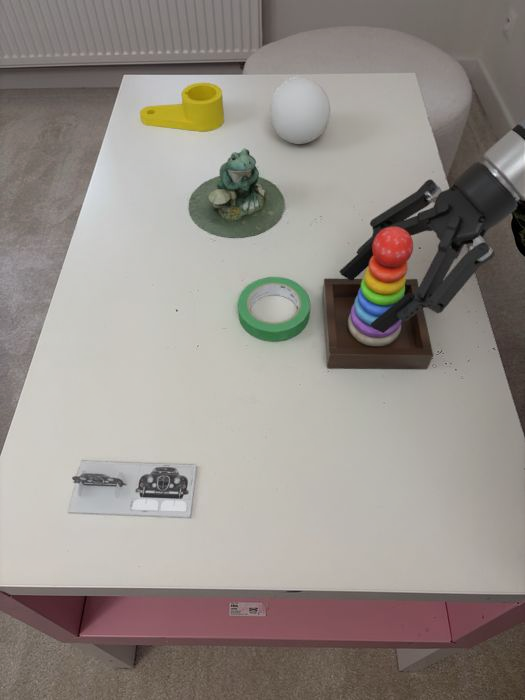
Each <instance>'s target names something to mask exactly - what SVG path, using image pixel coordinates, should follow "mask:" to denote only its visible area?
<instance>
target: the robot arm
mask: <svg viewBox="0 0 525 700" xmlns="http://www.w3.org/2000/svg"><path fill="white" fill-rule="evenodd" d="M482 159H483V160H482V162H480V161H477V162H475V161H474V163H473V164H471V165H470V166H469V167H468V168H467V169H466V170H464V172H462V173H461V174H460V175H459V176H457V178H455V180H454V183H453V185H452V186H451V187H450V188H448V189H445V190H442V189H441V187H440V186H439V185H438V184H437V183H436V182H435V181H434V180H433V179H427V180H426V181H425V182H424V183H423V184H422V185H421V186H420V187H419V188H418V189H417V191H415V192H413V193H412V194H410V195H409V196H407V197H405V198H404V199H402V200H401V201H399V202H397V203H396V204H394V205H393V206H391V207H390V208H388V209H386V210H385V211H383V212H382V213H380V214H379V215H377V216H375V217H373V218H372V219H371V220H370V223H369V225H370V227H371V228H372V235H371V237H369V238H368V239H367V240H366V241H365V242H364V243H363V244H362V245H361V246H360V247H359V248H358V249H357V250H356V254H357V255H355V256H354V257H353V258H352V259H351V260H350V261H349V262H348V263H346V264H345V265H344V266H343V267H342V268H341V269H340V270H339V273H340V275H341V276H343V277H344V278H345V279H349V280H351V281H352V280H353V279H357V277H358V276H359V275H360V274H362V273H363V272H364V271H366V269H367V268H368V267H369V261H370V259H371V257H372V256H373V251H372V245H373V241H374V238H375V237H376V235H377V234H378V233H379V232H380V231H381V230H383V229H385V228H388V227H400V228H402V229H404V230H406V231H407V232H408V233H409V234H410V235H411V237H412V236H415V235H418V234H422V233H424V232H434V233H435V235H436V238H437V239H438V240H439V243H438V245H437V251H436V254H435V255H434V257H433V259H432V261H431V263H430V265H429V267H428V269H427V271H426V273H425V274H424V277H423V278H422V280H421V283H420V284H419V285H418V286H419V288H418V290H417V292H416V294H413V293H412V294H411V293H410V292H409V293H407V294H406V295H405V296H404V297H403V298H401V299H400V300H399V301H398V302H396V303H395V304H394V305H393V306H392V307H390V308H389V309H388V310H387V311H386V312H384V313H383V314H382V315H381V316H379V317H378V318H377V319H376V320H375V321H373V322H372V323H371V326H372V328H374V329H376V330H378V331H380V332H382V333H384V332H385V331H387V330H388V329H389V328H390V327H392V326H393V325H394V324H395V323H397V322H398V321H399V320H402V321H407V320H409V319H410V318H411V317H413V316H414V315H415V314H416V313H418V312H419V311H420V310H421V309H425V308H428V309H429V310H431V311H432V312H433V313H436V314H441V313H442V312H443V311H444V310H445V309H446V308H447V306H448V305H449V304H450V303H451V301H452V300H453V299H454V298H455V297H456V296H457V294H458V293H459V292H460V291H461V289H463V287H464V286H465V285H466V284H467V282H468V281H469V280H470V278H472V276H474V274H475V273H476V271H478V269H479V268H480V267H481V266H483V265H484V264H486V263H487V262H489V261H491V260H492V259H493V258H494V257H495V255H496V251H495V250H494V249H493V248H492V247H491V246H489V244H488V243H487V241H486V240H485V239H484V237H485V235H486V233H487V232H488V230H489V229H491V228H493V227H495V226H498V225H499V224H500V223H501V222H502V221H504V220H505V219H507V217H508V216H510V215H511V214H512V213H513V212H515V211H516V210H517V209H518V206H519V204H518V202H519V200H521V201H523V202H525V117H523V118H522V119H521V120H519V122H518V123H517V124H516V125H515V126H514V127H513V128H511V130H509V131H508V132H507V133H505V134H504V135H503V136H502V137H501V138H500V139H498V140H497V141H496V142H495V143H494V144H493V145H492V146H491V147H489V148H488V150H486V151H485V152H484V153H483V154H482ZM432 203H433V207H431V208H429V209H425V208H427V207H428V206H430V204H432ZM423 209H425V210H423ZM415 214H417V215H415ZM414 215H415V216H414ZM470 244H471V245H470ZM466 245H470V246H469V247H468V251H467V252H466V253H465V254H464V255H463V256H462V257H461V259H460V260H459V261H458V262H457V263H456V265H454V267H453V268H452V269H451V267H452V265H453V263H454V261H455V260H457V259H458V257H459V256H460V254H461V252H462V250H463V248H464V247H465V246H466ZM450 269H451V271H450ZM449 271H450V272H449ZM448 272H449V273H448Z"/></svg>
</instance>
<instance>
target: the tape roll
mask: <svg viewBox="0 0 525 700" xmlns="http://www.w3.org/2000/svg"><path fill="white" fill-rule="evenodd" d="M267 296H281V297H284V298H286V299H288V300H290V301H291V302H292V303H293V304H294V305H295V306H296V308H297V311H296V312H295V313H294V315H292V316H290V317H289V318H287V319H285V320H281V321H275V322H273V321H272V322H271V321H266V320H263V319H260V318H258V317H257V316H256V315H255V314H254V313H253V311H252V310H251V309H252V307H253V305H254V304H255V303H256V302H257V301H259V300H260V299H262V298H265V297H267ZM310 311H311V300H310V296H309V294H308V292H307V291H306V290H305V289H304V288H303V286H302V285H300V284H299V283H298V282H296V281H295V280H292V279H289V278H286V277H281V276H267V277H262V278H258V279H257V280H254V281H251V282H250V283H249V284H248V285H246V286H245V288H243V290H241V292H240V294H239V297H238V300H237V313H238V319H239V323H240V326H242V328H243V329H244V331H245V332H247V333H248V334H249V335H250V336H252V337H254V338H256V339H258V340H261V341H266V342H282V341H287V340H290V339H292V338H294V337H296V336H297V335H299V334H300V333H302V332H303V331H304V329H305V328H306V326H307V325H308V322H309V320H310Z"/></svg>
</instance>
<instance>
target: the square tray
mask: <svg viewBox="0 0 525 700" xmlns="http://www.w3.org/2000/svg"><path fill="white" fill-rule="evenodd" d="M362 279H363V278H354V279H353V280H352V281H351V280H349V279H348V278H324V279H323V285H322V294H321V295H322V309H323V324H324V341H325V355H326V356H325V357H326V369H327V370H328V369H331V370H332V369H334V370H335V369H338V370H339V369H340V370H342V369H343V370H348V369H350V370H358V369H359V370H428V368H429V365H430V363H431V361H432V359H433V357H434V352H433V348H432V344H431V338H430V334H429V328H428V324H427V319H426V315H425V314H426V313H425V308H423V309H421V310H420V311H419V312H418V313H416V314H415V315H414V316H413V317H411V318H410V319H409V320H407V321H402V322H401V331H400V334H399V335H398V337H397V338H396V339H395V340H394V341H393V342H392V343H390V344H388V345H385V346H379V347H374V346H368V345H365V344H363V343H361V342H359V341H358V340H357V339H355V338H354V337H353V336H352V334H351V333H350V331H349V328H348V317H349V315H350V313H351V309H352V306H353V305H354V303H355V299H356V297H357V295H358V291H359V289H360V287H361V282H362ZM419 286H420V285H419V281H418V279H417V278H406V282H405V292H404V296H405V295H406V294H407V293H409V292H410V293H411V294H412V293H413V294H416V292H417V290H418V288H419Z"/></svg>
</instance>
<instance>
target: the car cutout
mask: <svg viewBox="0 0 525 700" xmlns="http://www.w3.org/2000/svg"><path fill="white" fill-rule="evenodd" d="M197 469H198V466H197V464H179V463H178V464H177V463H176V464H175V463H152V462H150V463H148V462H124V461H123V462H122V461H120V462H119V461H97V460H80V463H79V467H78V471H77V475H74V476H72V477H71V479H72V480H73V484H74V486H73V490H72V494H71V498H70V502H69V505H68V509H67V513H68V514H74V515H75V514H77V515H99V516H100V515H101V516H121V517H122V516H125V517H126V516H127V517H149V518H150V517H151V518H171V519H172V518H173V519H174V518H176V519H191V518H192V511H193V510H192V509H193V501H194V494H195V487H196V478H197Z"/></svg>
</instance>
